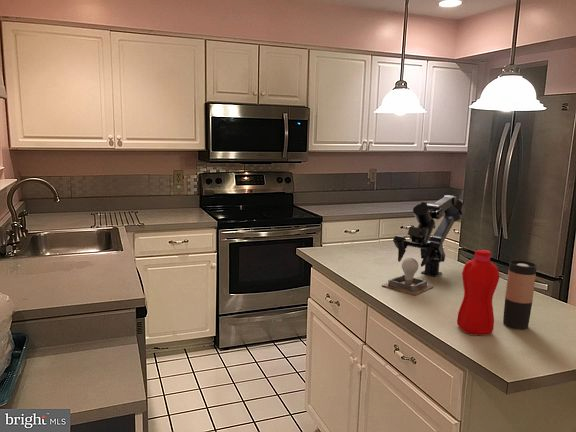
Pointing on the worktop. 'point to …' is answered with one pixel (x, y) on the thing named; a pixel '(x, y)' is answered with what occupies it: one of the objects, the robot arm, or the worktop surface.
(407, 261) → the lightbulb
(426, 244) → the robot arm
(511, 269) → the travel mug
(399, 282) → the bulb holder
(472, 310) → the water bottle
